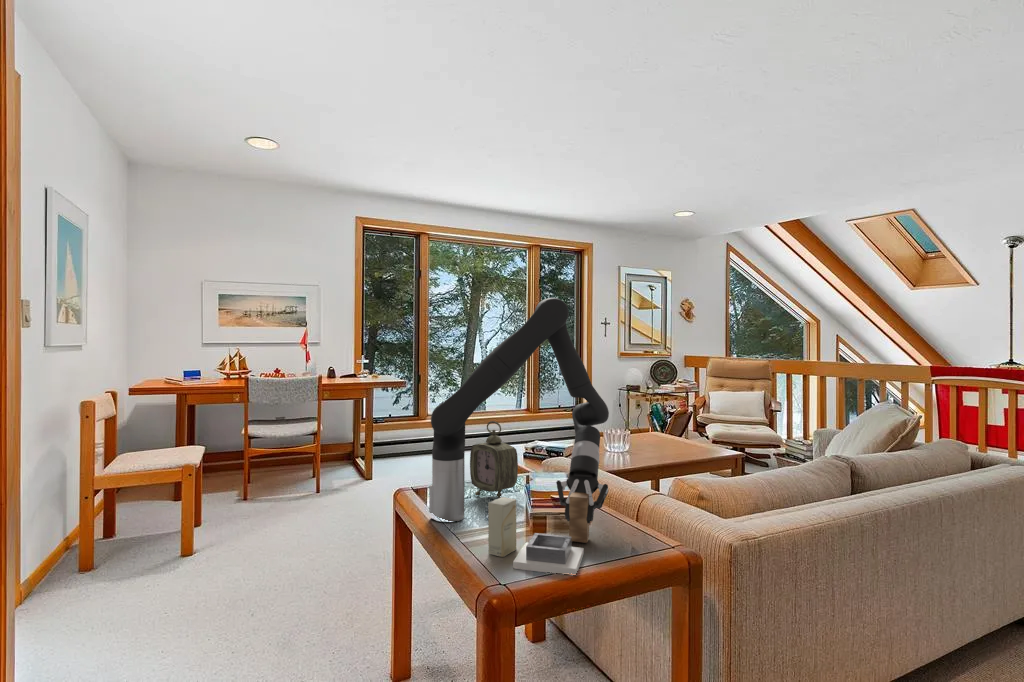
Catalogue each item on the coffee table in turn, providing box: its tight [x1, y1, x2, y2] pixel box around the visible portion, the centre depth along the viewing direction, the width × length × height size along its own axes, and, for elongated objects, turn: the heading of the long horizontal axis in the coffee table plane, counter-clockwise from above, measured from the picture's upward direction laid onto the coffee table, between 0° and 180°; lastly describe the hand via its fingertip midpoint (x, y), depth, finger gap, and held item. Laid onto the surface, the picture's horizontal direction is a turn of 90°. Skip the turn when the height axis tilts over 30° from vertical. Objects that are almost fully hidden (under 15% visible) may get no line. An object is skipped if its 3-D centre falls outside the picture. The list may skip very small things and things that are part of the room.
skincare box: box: [487, 496, 517, 558], centre depth 125 cm, size 6×4×12 cm
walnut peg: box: [568, 492, 590, 544], centre depth 131 cm, size 4×4×11 cm
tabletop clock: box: [469, 420, 519, 499], centre depth 169 cm, size 14×9×25 cm, turn 43°
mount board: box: [512, 532, 585, 574], centre depth 119 cm, size 14×12×4 cm
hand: (578, 520), depth 129 cm, fingers closed on walnut peg, 4 cm apart
